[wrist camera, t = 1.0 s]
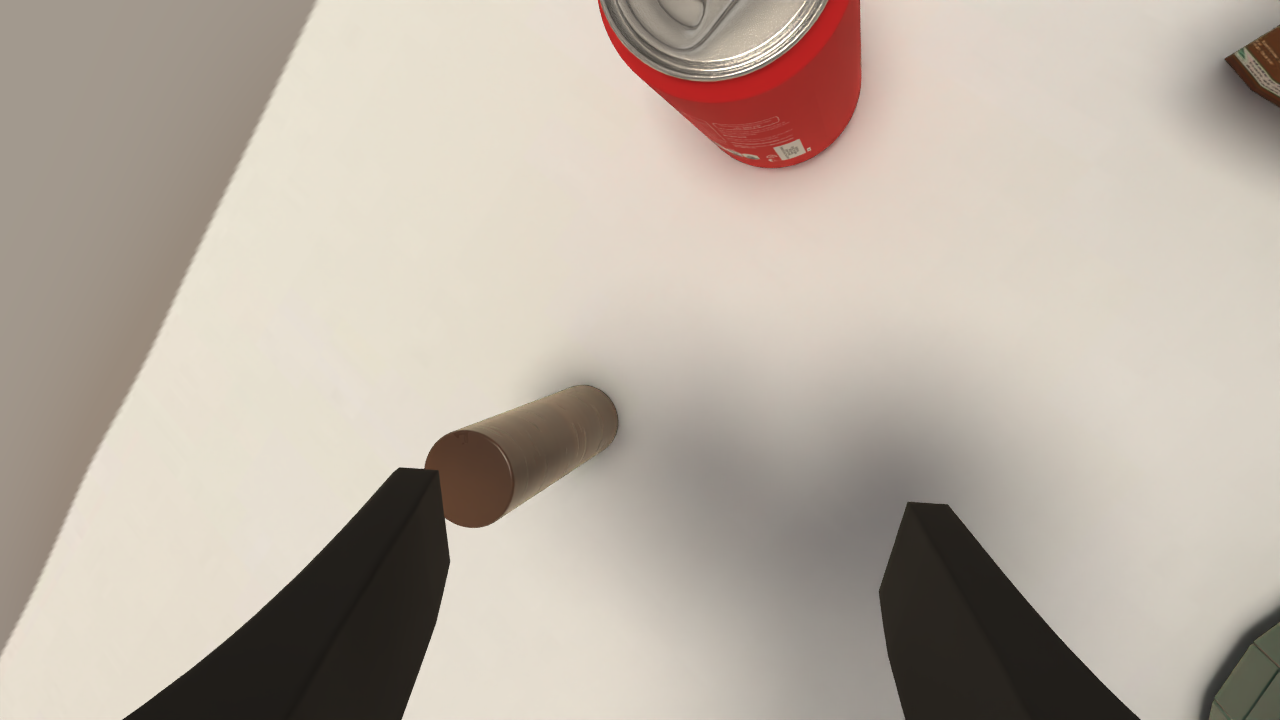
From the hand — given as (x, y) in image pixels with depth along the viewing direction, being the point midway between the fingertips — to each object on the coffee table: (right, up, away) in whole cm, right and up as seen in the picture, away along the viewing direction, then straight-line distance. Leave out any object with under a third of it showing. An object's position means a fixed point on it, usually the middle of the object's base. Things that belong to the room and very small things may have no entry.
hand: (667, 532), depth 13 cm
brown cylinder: (-2, +1, +17) cm, 17 cm away
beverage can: (+4, +12, +14) cm, 19 cm away
